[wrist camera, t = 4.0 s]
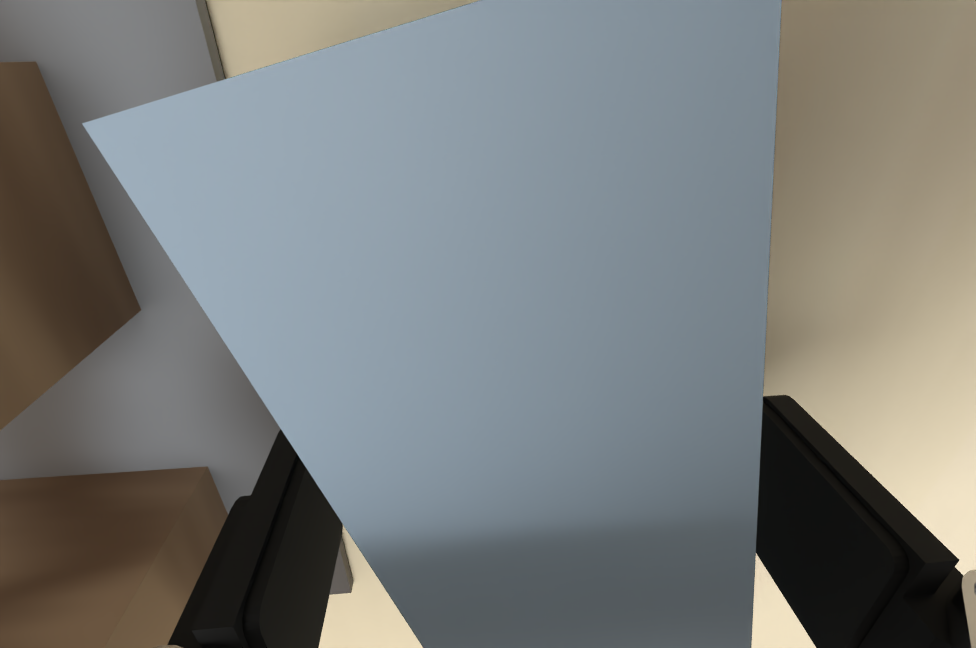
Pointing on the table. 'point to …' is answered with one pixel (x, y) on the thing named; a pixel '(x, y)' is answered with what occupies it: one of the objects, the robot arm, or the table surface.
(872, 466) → the table surface
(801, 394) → the table surface
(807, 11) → the table surface
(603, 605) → the lintel
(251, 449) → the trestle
